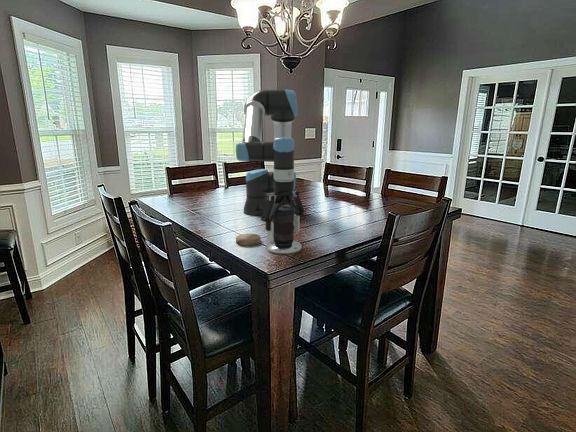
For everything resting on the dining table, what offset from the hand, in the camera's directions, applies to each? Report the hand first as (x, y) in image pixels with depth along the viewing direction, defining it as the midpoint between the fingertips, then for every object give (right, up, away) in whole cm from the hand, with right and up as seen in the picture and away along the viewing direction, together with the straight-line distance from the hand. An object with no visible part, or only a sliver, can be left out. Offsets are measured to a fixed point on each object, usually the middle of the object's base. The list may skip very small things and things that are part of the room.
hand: (283, 234), depth 132 cm
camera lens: (0, -5, +1) cm, 5 cm away
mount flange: (0, -5, +1) cm, 5 cm away
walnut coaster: (-15, -4, +8) cm, 17 cm away
